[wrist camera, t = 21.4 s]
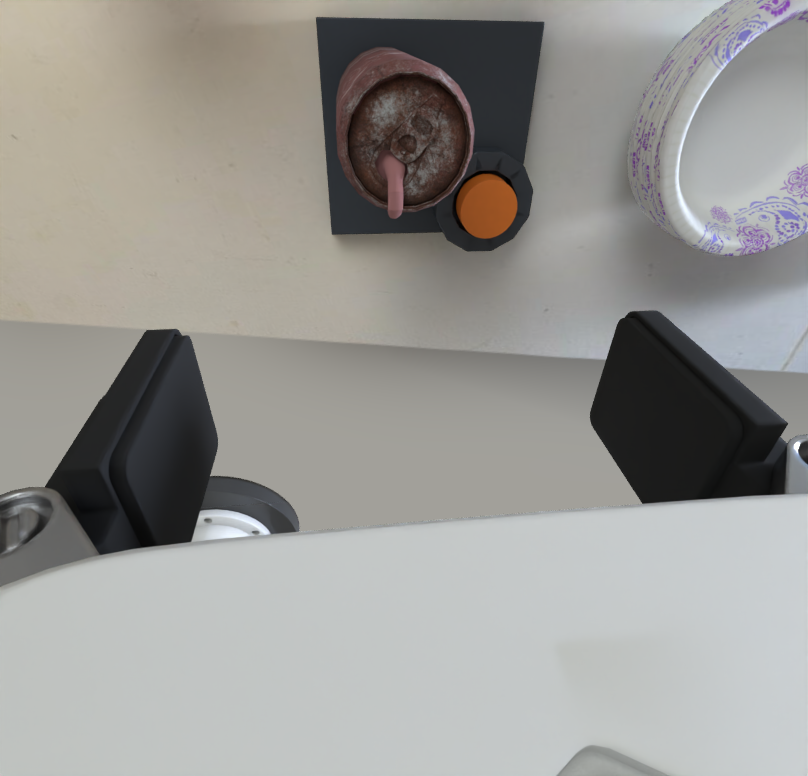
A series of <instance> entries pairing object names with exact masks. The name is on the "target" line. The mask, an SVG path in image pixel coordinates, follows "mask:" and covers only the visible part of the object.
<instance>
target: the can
mask: <svg viewBox="0 0 808 776" xmlns="http://www.w3.org/2000/svg"><path fill="white" fill-rule="evenodd" d="M474 132H475V129H474V124H473V119H472V114H471V109H470V105H469V103H468V102H467V100H466V98H465V96H464V94H463V92H462V90H461V89H460V87H459V85H458V84H457V83H456V82H455V81H454V80H453V79H452V78H451V77H449V76H448V75H447V74H446V73H445V72H444V71H443V70H442V69H441V68H438V67H436V66H434V65H432V64H429V63H427V62H425V61H423V60H420V59H418V58H416V57H414V56H411V55H409V54H407V53H405V52H402V51H400V50H397V49H395V48H392V47H375V48H372V49H370V50H367V51H364V52H362V53H360V54H359V55H358V56H357V57H356V58H355V59H353V60H352V61H351V62H350V63H349V64H348V66H347V68H346V69H345V71H344V73H343V75H342V76H341V78H340V82H339V86H338V91H337V95H336V135H337V152H338V157H339V160H340V162H341V165H342V168H343V171H344V173H345V176H346V178H347V179H348V180H349V182H350V183H351V184H352V186H353V187H354V188H355V190H356V191H357V192H358V194H359V195H361V196H362V197H363V198H365V199H366V200H368V201H369V202H370V203H372V204H373V205H375V206H376V207H380V208H383V209H386V210H387V211H388V215H389V217H390V218H392V219H396V218H398V217H399V216H400V215H401V213H402V212H416V211H419V210H422V209H425V208H428V207H431V206H434V205H435V204H437V203H438V202H439V201H441V200H442V199H443V198H445V197H446V196H447V195H449V194H450V193H451V192H452V191H453V190H454V188H455V187H456V186H457V184H458V183H459V182H460V180H461V179H462V178H463V176H464V175H465V172H466V169H467V167H468V164H469V162H470V159H471V156H472V154H473V143H474Z"/></svg>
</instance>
